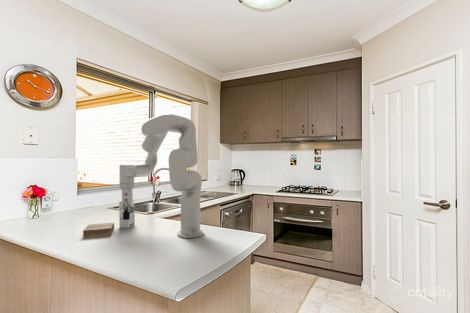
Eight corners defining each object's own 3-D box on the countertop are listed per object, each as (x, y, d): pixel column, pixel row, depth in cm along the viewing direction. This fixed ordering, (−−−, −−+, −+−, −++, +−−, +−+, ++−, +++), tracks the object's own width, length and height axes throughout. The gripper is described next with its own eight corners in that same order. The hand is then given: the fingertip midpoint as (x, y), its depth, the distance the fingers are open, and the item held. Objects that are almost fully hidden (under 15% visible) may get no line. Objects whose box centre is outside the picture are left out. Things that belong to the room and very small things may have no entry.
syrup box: (128, 228, 140) (128, 201, 140) (118, 227, 141) (118, 200, 141) (134, 225, 146) (134, 199, 146) (125, 224, 147) (125, 199, 147)
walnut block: (111, 236, 126) (111, 228, 126) (83, 239, 123) (83, 230, 123) (114, 230, 138) (114, 222, 138) (88, 232, 134) (88, 224, 134)
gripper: (133, 187, 137) (133, 220, 136) (134, 184, 153) (135, 214, 153) (117, 187, 134) (117, 222, 134) (121, 184, 151) (121, 215, 151)
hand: (126, 217), depth 143 cm, fingers closed on syrup box, 7 cm apart
